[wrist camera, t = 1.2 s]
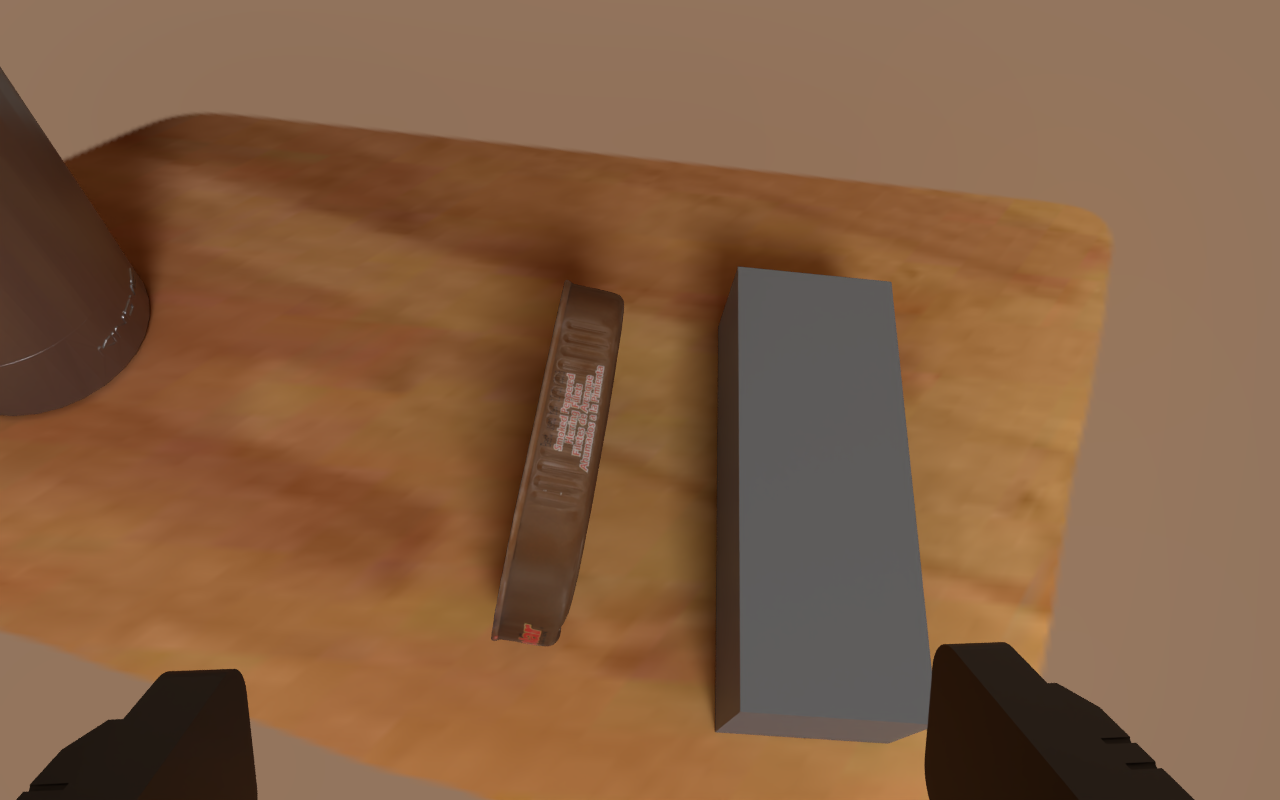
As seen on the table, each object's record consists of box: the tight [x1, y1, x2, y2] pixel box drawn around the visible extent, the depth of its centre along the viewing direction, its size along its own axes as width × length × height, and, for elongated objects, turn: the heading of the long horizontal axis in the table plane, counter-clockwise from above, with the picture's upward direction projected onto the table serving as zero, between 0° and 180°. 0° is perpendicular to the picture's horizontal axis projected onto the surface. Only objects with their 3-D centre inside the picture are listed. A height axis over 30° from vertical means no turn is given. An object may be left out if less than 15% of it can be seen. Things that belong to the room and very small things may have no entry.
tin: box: [491, 280, 624, 646], centre depth 36 cm, size 15×3×8 cm, turn 172°
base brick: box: [715, 267, 932, 743], centre depth 38 cm, size 7×19×5 cm, turn 177°
